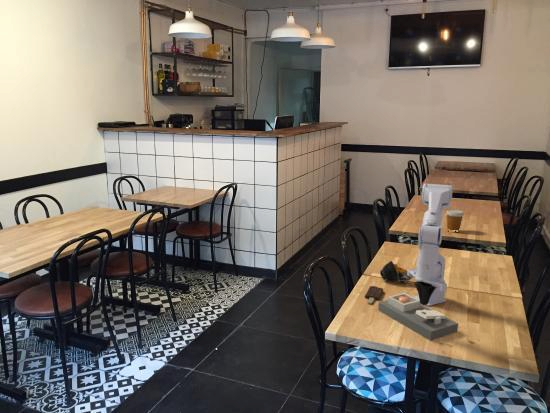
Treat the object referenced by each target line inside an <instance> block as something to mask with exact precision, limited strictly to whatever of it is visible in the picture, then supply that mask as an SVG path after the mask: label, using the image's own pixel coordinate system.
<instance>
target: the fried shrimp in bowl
mask: <svg viewBox="0 0 550 413" xmlns="http://www.w3.org/2000/svg"><path fill="white" fill-rule="evenodd" d="M407 270H408V269H404V267H403V268H402V267H400V266H399V265H398V264H397V263H395V262H393V261H391V260H389V261H388V262H387V263H386V264H384V265H383V267H382V269H380V272H379V274H380V276H381V279H382V280H383V281H385V280H386V281H387V282H398V283H400V284H406V283H407V282H408V281H411V279H412V278H413V277H412V276H407Z"/></svg>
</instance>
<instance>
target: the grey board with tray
mask: <svg viewBox="0 0 550 413" xmlns="http://www.w3.org/2000/svg"><path fill="white" fill-rule="evenodd" d="M401 296H404V297H408V298H409V299H410V301H409V303H405V304H404V303H402V302H400V301H399V297H401ZM377 309H378V311H379V312H381V313H382V314H383V315H386V316H388V317H389V318H390V319H393V320H394V321H396V322H398V323H400V324H401V325H403V326H405V327H406V328H408V329H410V330H412V331H413V332H415V333H417V334H418V335H420V336H421V337H423V338H426V339H427V340H428V341H430V342H431V341H433V340H437V339H440V338H443V337H446V336H449V335H453V334H455V333H458V328H459V323H458V322H456V321H455V320H452V319H450V318H448V317H447V316H446V317H445V319H441V317H436V318H435V319H425V318H423V317H422V316H420V315H418V314H416V310H432V309H430V308H429V307H428V306H426V305H422V304H420V300H418V299H416V298H414V296H412V295H410V294H408V293H406V292H402V293H398V294H394V295H390V296H388V297H387V300H386V299H385V300H383V301H378V307H377Z"/></svg>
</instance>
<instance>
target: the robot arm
mask: <svg viewBox="0 0 550 413" xmlns="http://www.w3.org/2000/svg"><path fill="white" fill-rule="evenodd" d="M453 189H454V188H453V186H452V184H450V185H449V184H436V183H426V182H425V183H424V184H423V185H422V191H421V200H422V203H423V205H424V206H426V207H427V208H428V209H427V210H426V211H425V212H424V213H423V219H422V225H421V226H419V231H418V249H419V251H418V256H417V260H416V263H415V264H416V267H415V269H413V268H409V269H406V270H407V276H412V278H414V279H415V282H413V283H414V287H415V288H416V291H417V295H414V296H413V297H414V298H416V299H418V300H420V304H421V305H423V306H426V307H431V306H434V305H437V304H441V303H445V302H446V301H447V300H446V299H445V296H446V295H445V294H446V291H447V288H448V283H446V280H445V279H444V278H445V269H446V259H445V257H444V256H443V255H442V254H441V253H440V252H439V251H440V246H441V243H442V238H443V237H442V236H443V228H442V226H443V225H442V224H443V219H444V218H443V212H444V209H447V208H450V207H451V205H452V200H453V199H452V198H453Z"/></svg>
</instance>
